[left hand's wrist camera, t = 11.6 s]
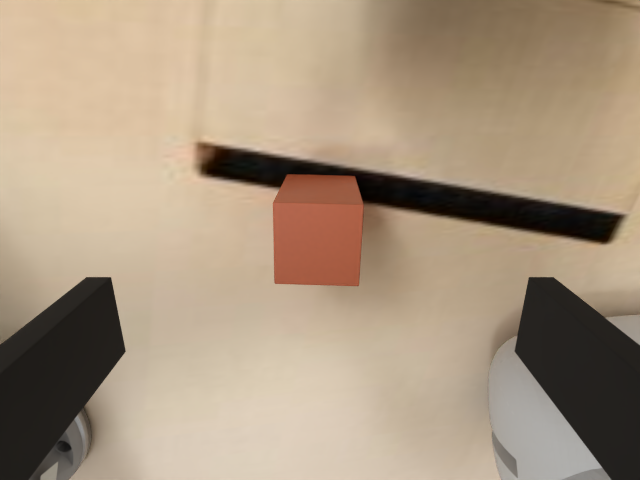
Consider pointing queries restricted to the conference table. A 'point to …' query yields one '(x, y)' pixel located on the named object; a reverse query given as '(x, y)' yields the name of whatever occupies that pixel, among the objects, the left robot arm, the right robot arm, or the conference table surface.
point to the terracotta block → (318, 230)
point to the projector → (537, 421)
